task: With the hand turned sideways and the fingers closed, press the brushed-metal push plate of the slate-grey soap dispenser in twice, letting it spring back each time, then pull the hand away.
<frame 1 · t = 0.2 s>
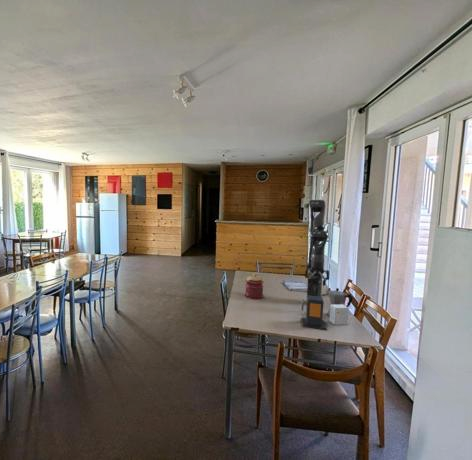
hand: (316, 284, 192), 17 cm above the table, tool pointing down, fingers open, 8 cm apart
push plate: (302, 304, 173), point 11 cm above the table, slide at 0.1 cm
dispenser: (313, 324, 171), on the table
kitchen canister: (253, 296, 221), on the table
coffeepot: (337, 316, 184), on the table
small box: (338, 323, 174), on the table
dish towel: (296, 287, 247), on the table
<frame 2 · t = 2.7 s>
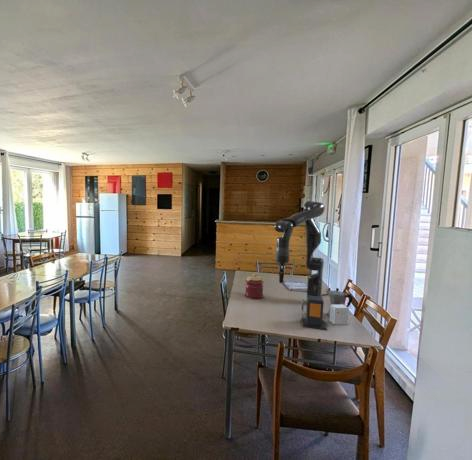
hand: (281, 281, 176), 24 cm above the table, tool pointing down, fingers open, 7 cm apart
nothing on the table moved.
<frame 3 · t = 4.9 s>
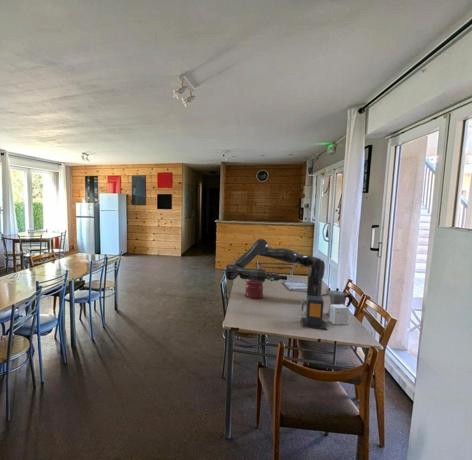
hand: (287, 278, 174), 26 cm above the table, tool horizontal, fingers closed
nothing on the table moved.
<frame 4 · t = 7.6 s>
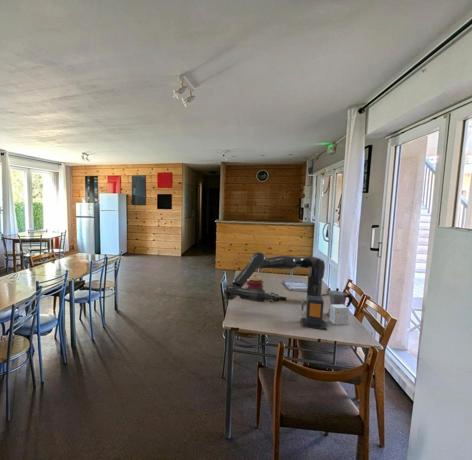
hand: (286, 299, 176), 13 cm above the table, tool horizontal, fingers closed
nothing on the table moved.
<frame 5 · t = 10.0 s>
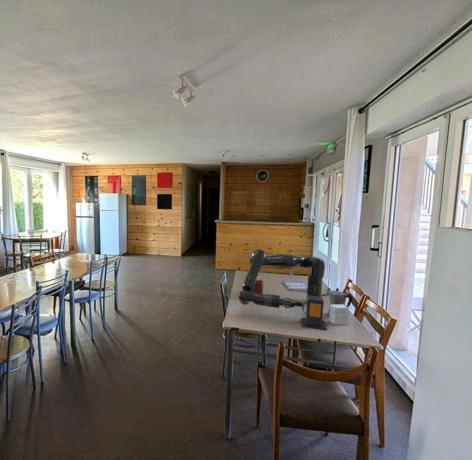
hand: (302, 304, 173), 11 cm above the table, tool horizontal, fingers closed
push plate: (303, 304, 173), point 11 cm above the table, slide at -0.3 cm, touching gripper
everything else where it was.
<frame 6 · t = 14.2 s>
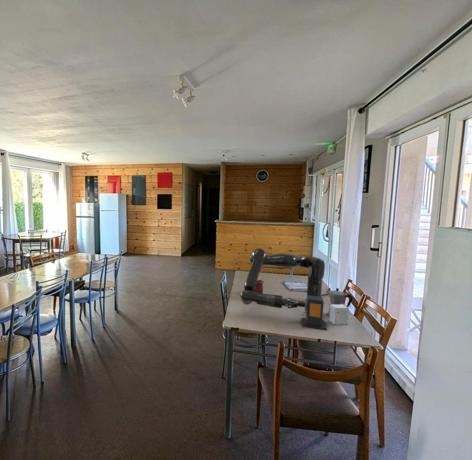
hand: (304, 305, 172), 11 cm above the table, tool horizontal, fingers closed
push plate: (305, 305, 172), point 11 cm above the table, slide at -1.8 cm, touching gripper
everything else where it was.
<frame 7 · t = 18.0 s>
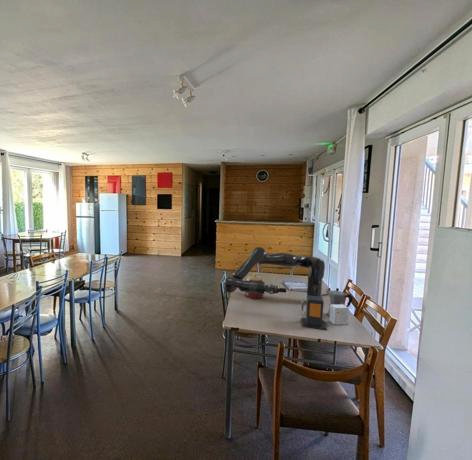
hand: (286, 290, 175), 18 cm above the table, tool horizontal, fingers closed
push plate: (302, 304, 173), point 11 cm above the table, slide at 0.1 cm
everything else where it was.
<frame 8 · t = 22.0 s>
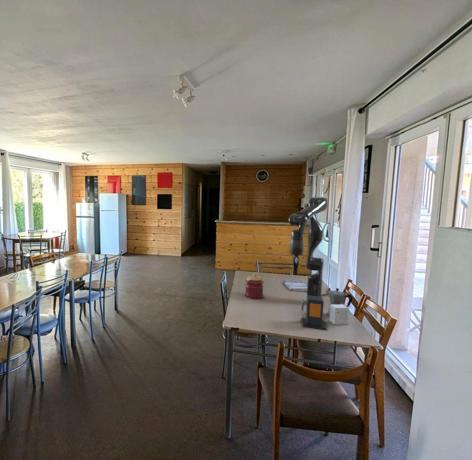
hand: (295, 274, 181), 27 cm above the table, tool pointing down, fingers closed
nothing on the table moved.
at the end: push plate pushed in 1.8 cm at the most during the clip and back out by the end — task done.
